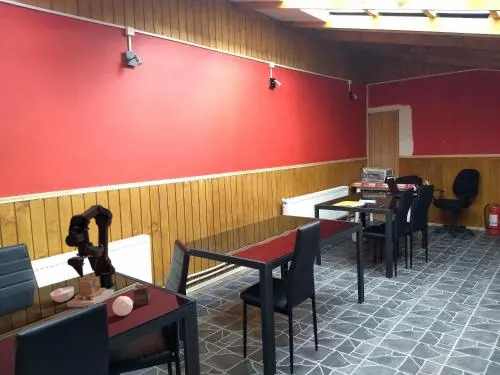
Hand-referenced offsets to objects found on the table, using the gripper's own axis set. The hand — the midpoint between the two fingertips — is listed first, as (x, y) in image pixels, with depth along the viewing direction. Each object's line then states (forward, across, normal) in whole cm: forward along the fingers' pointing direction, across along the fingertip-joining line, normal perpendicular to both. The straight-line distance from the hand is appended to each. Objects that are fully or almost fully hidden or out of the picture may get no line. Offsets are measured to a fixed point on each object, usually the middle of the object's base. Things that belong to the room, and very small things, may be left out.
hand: (88, 274), depth 192 cm
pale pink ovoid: (+13, -16, -27) cm, 34 cm away
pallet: (+10, 0, 0) cm, 10 cm away
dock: (+12, 0, 0) cm, 12 cm away
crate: (+8, 0, 0) cm, 9 cm away
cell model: (+13, 0, +15) cm, 20 cm away
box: (+13, -4, -29) cm, 32 cm away
